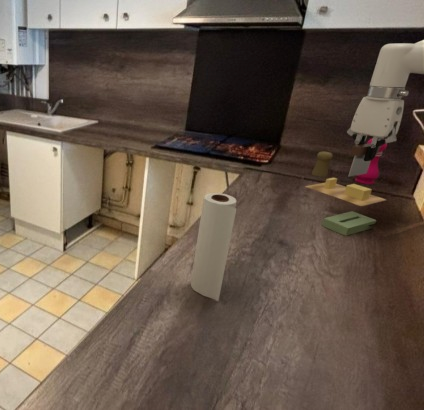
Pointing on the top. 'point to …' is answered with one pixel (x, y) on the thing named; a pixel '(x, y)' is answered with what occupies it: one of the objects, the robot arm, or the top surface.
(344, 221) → the stand
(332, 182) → the butter pat
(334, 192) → the board
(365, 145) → the scraper
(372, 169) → the pepper mill
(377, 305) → the top surface
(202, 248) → the paper towel roll
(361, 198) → the butter block
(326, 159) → the cork
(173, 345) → the top surface
